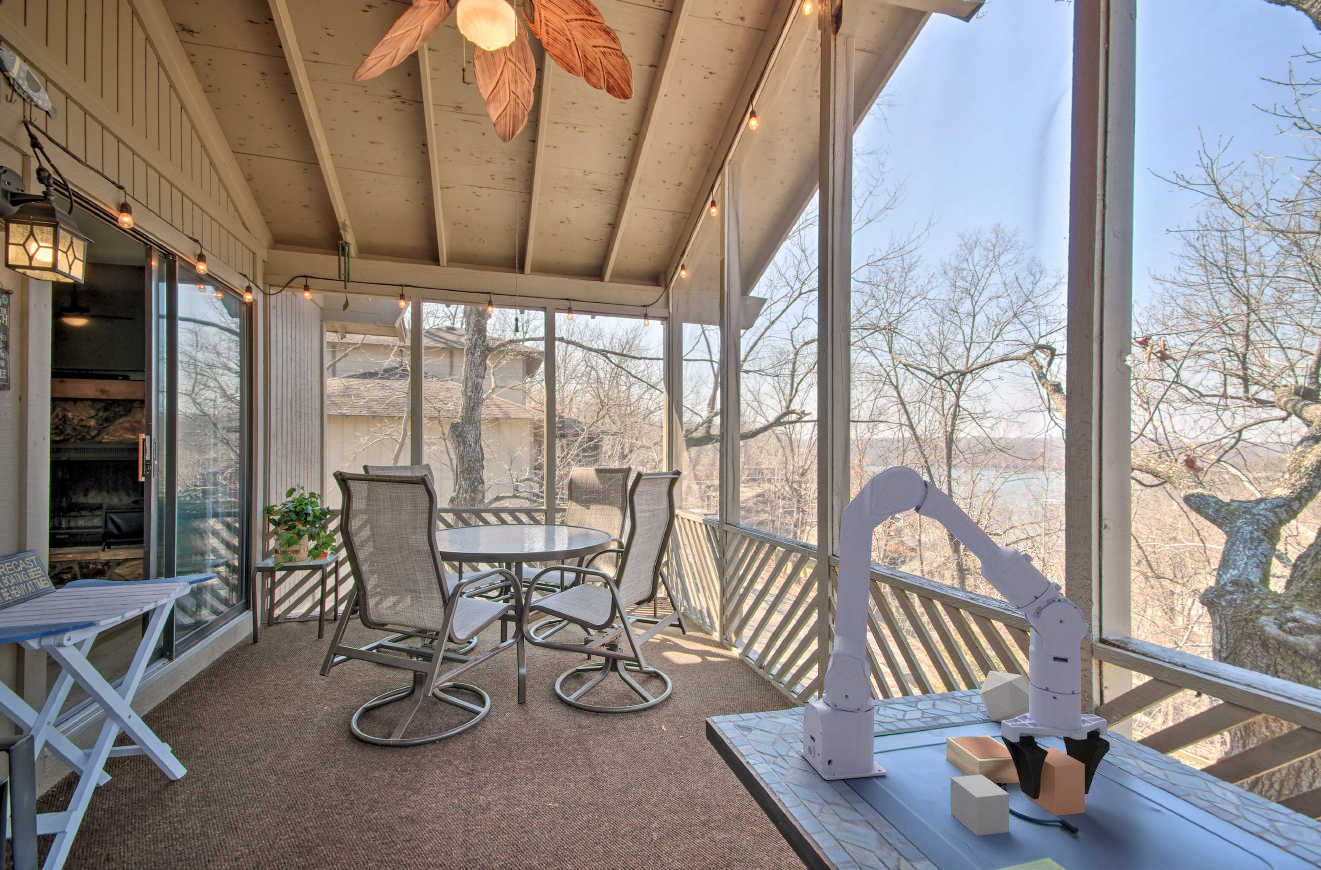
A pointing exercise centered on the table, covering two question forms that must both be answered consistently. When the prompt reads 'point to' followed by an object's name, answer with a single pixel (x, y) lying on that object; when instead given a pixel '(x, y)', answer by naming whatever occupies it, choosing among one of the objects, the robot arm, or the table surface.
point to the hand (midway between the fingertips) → (1054, 792)
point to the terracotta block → (1062, 784)
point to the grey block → (980, 804)
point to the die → (1005, 695)
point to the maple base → (981, 758)
